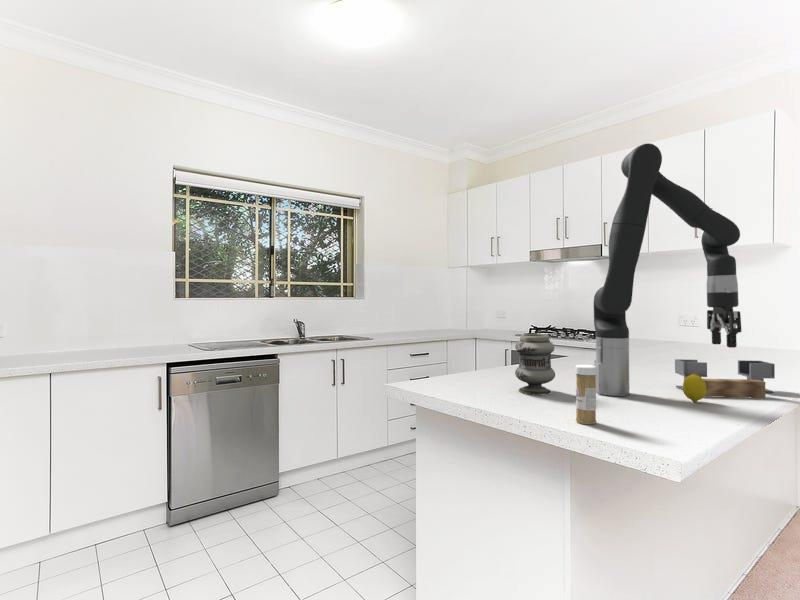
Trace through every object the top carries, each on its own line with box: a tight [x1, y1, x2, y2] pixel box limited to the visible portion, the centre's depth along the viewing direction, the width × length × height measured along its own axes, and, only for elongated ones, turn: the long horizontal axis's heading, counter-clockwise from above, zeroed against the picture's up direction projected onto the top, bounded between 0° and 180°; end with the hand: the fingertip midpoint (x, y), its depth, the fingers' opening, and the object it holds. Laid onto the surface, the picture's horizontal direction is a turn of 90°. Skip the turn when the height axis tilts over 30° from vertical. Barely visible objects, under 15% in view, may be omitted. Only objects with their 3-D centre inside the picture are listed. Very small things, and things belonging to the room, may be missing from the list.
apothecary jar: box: [514, 333, 556, 396], centre depth 140 cm, size 12×12×18 cm
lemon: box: [682, 374, 706, 403], centre depth 124 cm, size 6×6×8 cm
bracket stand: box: [674, 358, 776, 394], centre depth 140 cm, size 25×7×9 cm, turn 79°
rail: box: [683, 377, 766, 399], centre depth 132 cm, size 20×4×5 cm, turn 80°
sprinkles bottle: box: [575, 364, 597, 425], centre depth 105 cm, size 5×5×14 cm
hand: (723, 345), depth 132 cm, fingers open, 8 cm apart
